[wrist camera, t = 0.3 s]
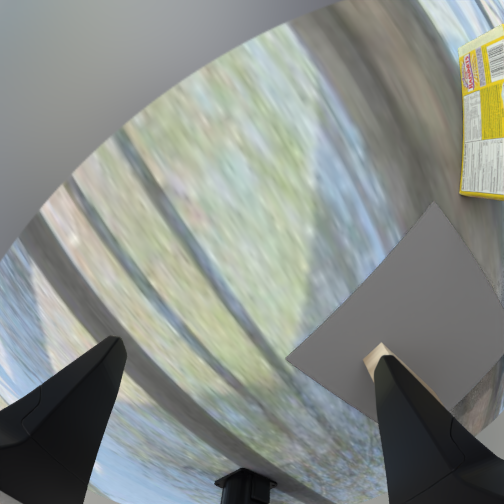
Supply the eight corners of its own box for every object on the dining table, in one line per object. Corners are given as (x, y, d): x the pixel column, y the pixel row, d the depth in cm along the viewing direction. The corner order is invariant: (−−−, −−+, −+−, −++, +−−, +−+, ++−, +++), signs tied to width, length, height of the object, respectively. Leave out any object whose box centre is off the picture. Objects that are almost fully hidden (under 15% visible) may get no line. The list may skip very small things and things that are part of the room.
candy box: (472, 198, 23) (529, 207, 15) (457, 194, 23) (514, 201, 15) (471, 54, 19) (515, 31, 11) (456, 47, 19) (500, 19, 11)
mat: (409, 441, 29) (410, 443, 29) (285, 357, 27) (285, 359, 27) (515, 336, 25) (516, 337, 25) (432, 201, 23) (434, 201, 23)
